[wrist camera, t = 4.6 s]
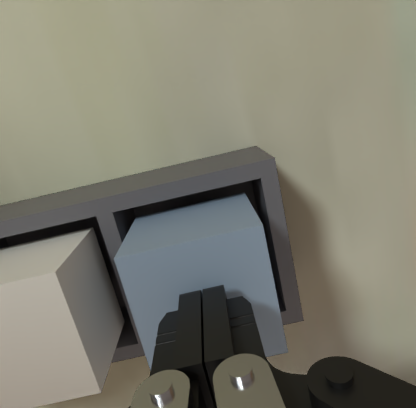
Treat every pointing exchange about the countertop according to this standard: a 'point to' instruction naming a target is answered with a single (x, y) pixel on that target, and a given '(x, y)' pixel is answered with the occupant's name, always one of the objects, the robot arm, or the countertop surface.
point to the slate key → (199, 265)
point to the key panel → (156, 202)
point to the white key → (55, 320)
